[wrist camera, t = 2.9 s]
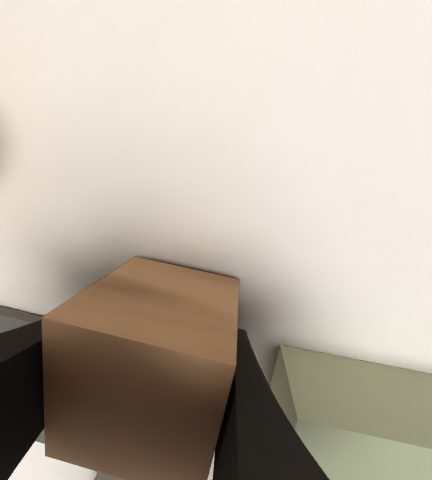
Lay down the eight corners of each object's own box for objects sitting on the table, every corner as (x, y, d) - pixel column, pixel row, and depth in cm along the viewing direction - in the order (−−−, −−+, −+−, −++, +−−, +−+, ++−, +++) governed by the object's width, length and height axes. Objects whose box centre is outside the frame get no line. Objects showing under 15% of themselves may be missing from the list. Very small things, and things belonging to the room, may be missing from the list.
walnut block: (219, 366, 11) (201, 502, 6) (127, 343, 12) (45, 456, 7) (239, 279, 10) (235, 365, 5) (135, 256, 10) (41, 317, 5)
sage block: (401, 498, 13) (469, 632, 9) (249, 461, 14) (252, 570, 10) (465, 376, 11) (593, 485, 7) (278, 340, 11) (297, 419, 7)
